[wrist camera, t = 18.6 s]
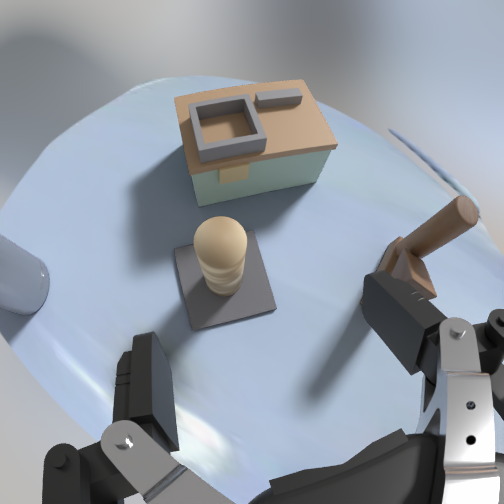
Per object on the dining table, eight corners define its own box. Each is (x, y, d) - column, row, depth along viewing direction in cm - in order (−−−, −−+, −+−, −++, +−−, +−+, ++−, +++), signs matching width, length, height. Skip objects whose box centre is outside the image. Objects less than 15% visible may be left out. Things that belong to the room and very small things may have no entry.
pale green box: (197, 211, 44) (186, 159, 31) (182, 142, 47) (171, 84, 35) (319, 185, 46) (344, 133, 34) (291, 122, 50) (305, 67, 38)
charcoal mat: (192, 330, 38) (192, 330, 38) (174, 250, 42) (173, 248, 41) (276, 309, 40) (276, 308, 39) (253, 231, 43) (253, 229, 43)
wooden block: (358, 303, 41) (433, 268, 24) (388, 243, 44) (458, 186, 27) (378, 317, 40) (460, 290, 23) (407, 256, 44) (481, 206, 27)
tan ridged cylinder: (210, 300, 39) (200, 272, 26) (202, 266, 40) (188, 223, 27) (246, 291, 40) (253, 259, 27) (236, 258, 41) (239, 211, 28)
